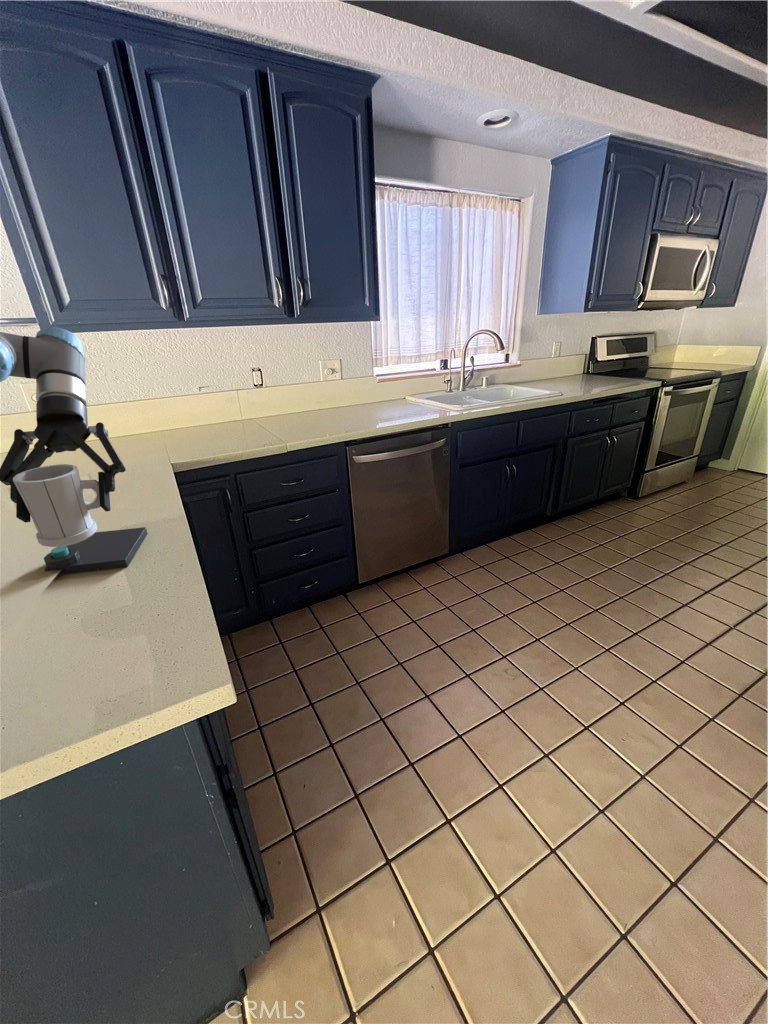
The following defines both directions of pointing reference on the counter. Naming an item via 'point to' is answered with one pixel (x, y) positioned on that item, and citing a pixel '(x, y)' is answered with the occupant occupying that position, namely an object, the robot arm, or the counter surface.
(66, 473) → the cup
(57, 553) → the scale button
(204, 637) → the counter surface
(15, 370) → the robot arm
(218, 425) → the counter surface
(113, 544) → the scale
